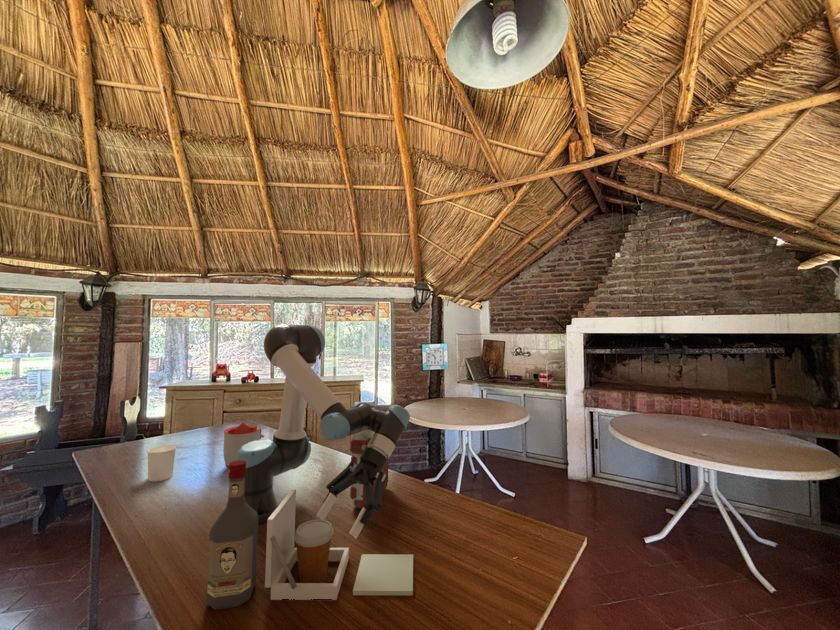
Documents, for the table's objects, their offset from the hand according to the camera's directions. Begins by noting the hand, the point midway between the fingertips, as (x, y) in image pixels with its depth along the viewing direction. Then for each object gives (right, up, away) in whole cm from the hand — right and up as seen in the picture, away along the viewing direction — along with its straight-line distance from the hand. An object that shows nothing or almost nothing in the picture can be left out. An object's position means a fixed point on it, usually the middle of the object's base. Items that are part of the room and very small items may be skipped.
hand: (335, 527), depth 93 cm
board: (+13, -11, -3) cm, 17 cm away
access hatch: (-5, -10, -4) cm, 12 cm away
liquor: (-22, -10, -10) cm, 26 cm away
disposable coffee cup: (-5, -10, -4) cm, 12 cm away
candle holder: (-87, -13, +57) cm, 105 cm away
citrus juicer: (-60, -15, +71) cm, 94 cm away
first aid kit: (+4, -13, +40) cm, 42 cm away
